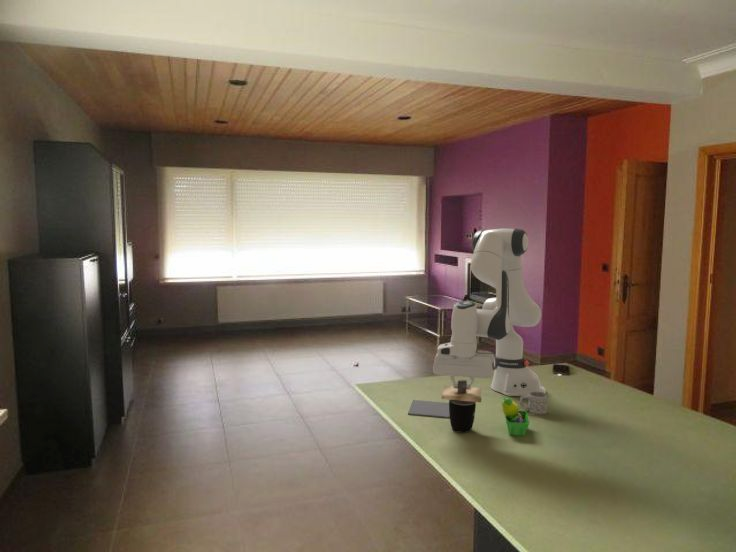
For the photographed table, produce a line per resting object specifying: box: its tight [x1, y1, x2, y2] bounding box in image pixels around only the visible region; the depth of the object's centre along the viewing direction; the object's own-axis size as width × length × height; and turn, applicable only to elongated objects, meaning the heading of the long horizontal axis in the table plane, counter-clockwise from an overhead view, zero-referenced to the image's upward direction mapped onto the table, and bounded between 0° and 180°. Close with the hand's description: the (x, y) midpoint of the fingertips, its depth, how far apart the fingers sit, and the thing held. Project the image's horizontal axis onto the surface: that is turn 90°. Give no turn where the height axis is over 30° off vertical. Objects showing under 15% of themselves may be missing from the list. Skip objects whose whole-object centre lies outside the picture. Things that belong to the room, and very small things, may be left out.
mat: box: [407, 399, 450, 419], centre depth 198 cm, size 15×15×1 cm
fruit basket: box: [501, 397, 530, 437], centre depth 179 cm, size 11×9×11 cm
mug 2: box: [519, 392, 548, 415], centre depth 198 cm, size 10×7×7 cm, turn 84°
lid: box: [441, 379, 482, 403], centre depth 180 cm, size 13×13×5 cm
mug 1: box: [448, 400, 477, 433], centre depth 181 cm, size 12×9×10 cm
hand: (462, 388), depth 180 cm, fingers closed on lid, 3 cm apart
